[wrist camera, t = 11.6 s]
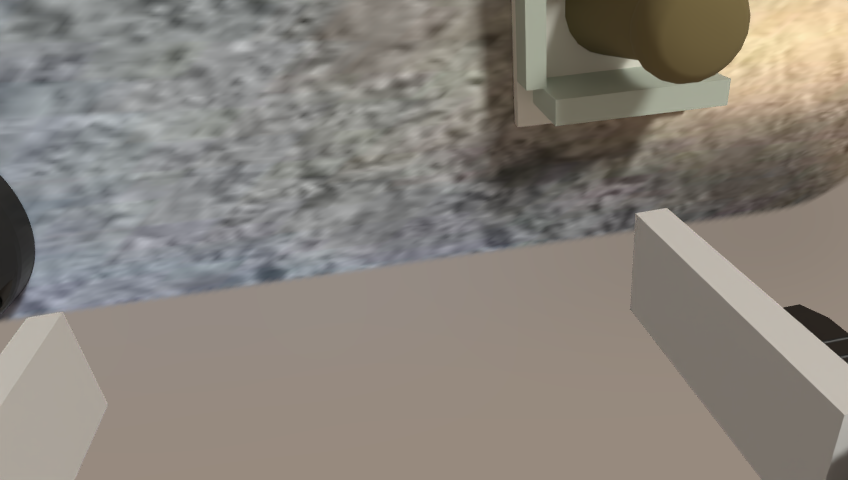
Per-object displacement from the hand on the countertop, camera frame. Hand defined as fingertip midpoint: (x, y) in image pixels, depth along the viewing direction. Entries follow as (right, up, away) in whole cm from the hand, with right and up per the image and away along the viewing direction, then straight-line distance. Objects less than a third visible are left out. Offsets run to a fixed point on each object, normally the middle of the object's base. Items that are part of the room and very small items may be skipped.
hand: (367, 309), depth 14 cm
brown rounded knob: (+13, +16, +23) cm, 30 cm away
